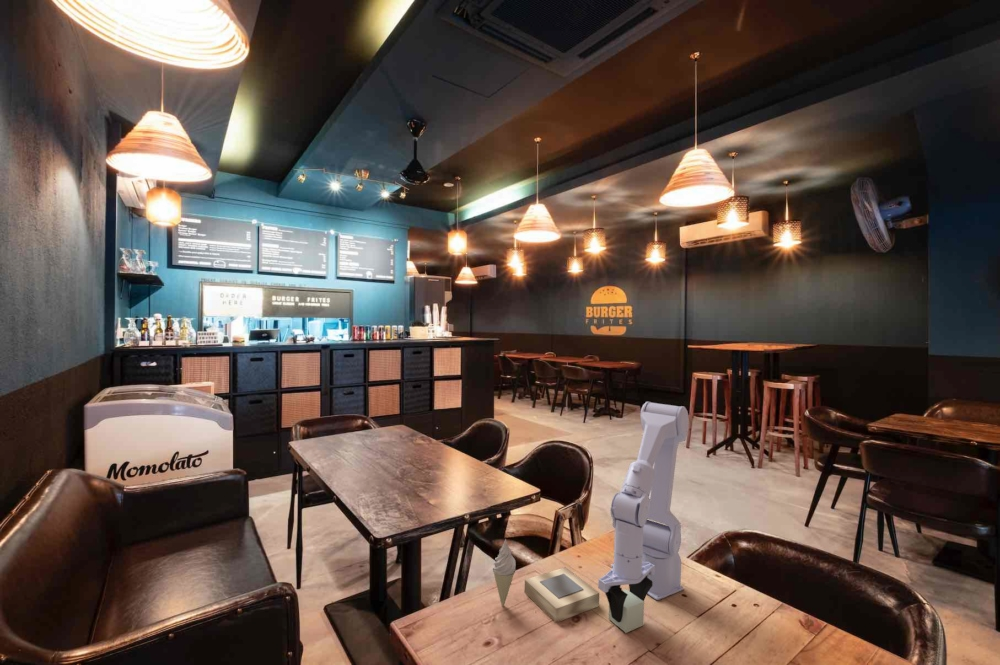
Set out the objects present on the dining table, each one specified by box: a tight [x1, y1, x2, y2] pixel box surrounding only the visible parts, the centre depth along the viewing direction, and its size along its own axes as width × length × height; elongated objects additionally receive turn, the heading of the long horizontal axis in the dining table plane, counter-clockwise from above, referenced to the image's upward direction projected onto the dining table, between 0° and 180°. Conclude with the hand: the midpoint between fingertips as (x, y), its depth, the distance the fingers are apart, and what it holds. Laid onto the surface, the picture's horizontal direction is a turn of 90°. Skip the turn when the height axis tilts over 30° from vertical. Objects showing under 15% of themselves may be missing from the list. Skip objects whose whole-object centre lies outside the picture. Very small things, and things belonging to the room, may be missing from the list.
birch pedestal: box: [523, 566, 600, 623], centre depth 103 cm, size 12×12×3 cm
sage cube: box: [608, 588, 645, 634], centre depth 95 cm, size 5×5×5 cm
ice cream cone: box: [492, 538, 517, 607], centre depth 99 cm, size 5×5×15 cm
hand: (626, 615), depth 95 cm, fingers closed on sage cube, 5 cm apart
